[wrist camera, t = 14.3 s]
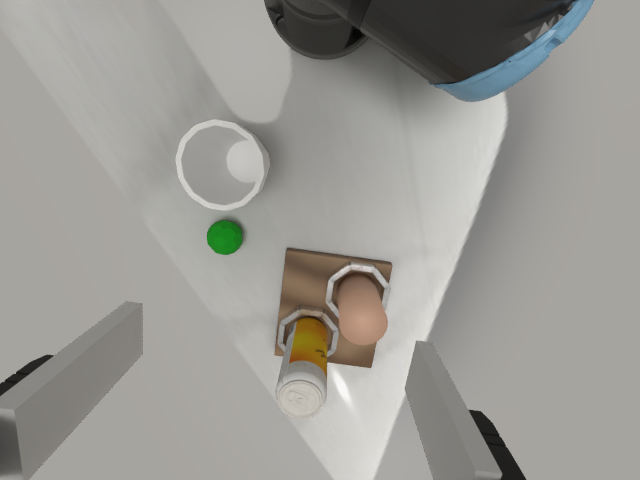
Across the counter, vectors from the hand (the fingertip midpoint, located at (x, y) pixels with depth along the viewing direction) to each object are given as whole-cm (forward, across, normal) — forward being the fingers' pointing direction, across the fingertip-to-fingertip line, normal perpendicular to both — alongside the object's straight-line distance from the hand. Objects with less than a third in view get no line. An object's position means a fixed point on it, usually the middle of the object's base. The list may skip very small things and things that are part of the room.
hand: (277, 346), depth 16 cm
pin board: (+35, +5, -15) cm, 38 cm away
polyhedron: (+35, -12, -5) cm, 37 cm away
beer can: (+33, +2, -19) cm, 38 cm away
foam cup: (+35, -10, +6) cm, 37 cm away
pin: (+33, +8, -11) cm, 36 cm away
